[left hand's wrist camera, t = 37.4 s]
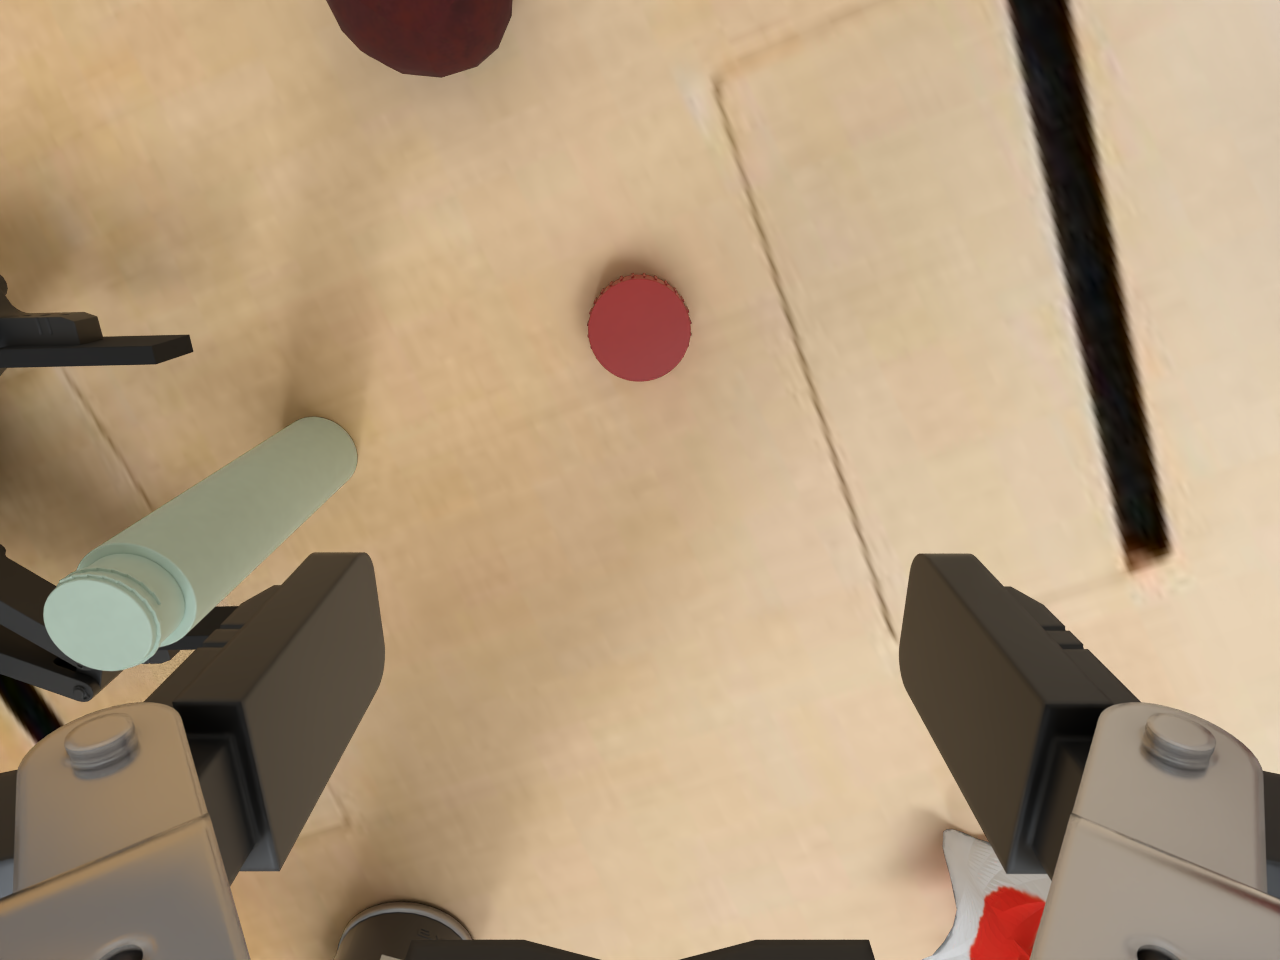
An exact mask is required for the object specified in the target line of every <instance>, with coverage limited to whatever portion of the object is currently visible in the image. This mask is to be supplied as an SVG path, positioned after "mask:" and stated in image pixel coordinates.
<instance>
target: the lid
mask: <svg viewBox="0 0 1280 960" xmlns="http://www.w3.org/2000/svg"><path fill="white" fill-rule="evenodd" d="M683 302H684V300H683V297H682V296H681V297H680V296H679V294H678V293H677V291H676V288H675V287H674V288H672V287H671V286H670V285H669V284H668V283H667V281H666V280H665V281H663V280H661V279H659V278H657V276H655V275H654V277H653V276H650V275H645V273H643V275H634V273H632V275H630V276H626V277H623V276H621V277H620V279H618V280H616V281H614V282H613V281H611V282H610V285H609V286H608V287H606V289H604V288H603V289H602V291H601V294H600V296H599V297H598V298H597V297H596V299H595V301H594V304H595V305H594V307H593V308H591V310H590V313H589V314H590V319H589V321H588V323H587V326H588V338H589V341H590V345H591V349H592V350H593V353H594V355H595V356H596V358H597V360H598V361H599V362H600V363H601V365H602V366H603V367H604V368H605V369H607V370H608V371H609V372H611V373H612V374H614V375H616V376H617V377H620V378H622V379H626V380H629V381H649V380H653V379H657V378H659V377H661V376H663V375H665V374H667V373H668V372H670V371H671V370H672V369H673V368H674V367H675V366H677V364H678V363H679V362H680V361H681V359H682V358H683V357H684V354H685V352H686V350H687V348H688V347H689V340H690V336H691V327H690V324H691V320H690V318H689V315H688V313H689V310H688V308H687V306H686V307H685V305H684V303H683Z"/></svg>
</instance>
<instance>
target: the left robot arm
mask: <svg viewBox="0 0 1280 960" xmlns="http://www.w3.org/2000/svg"><path fill="white" fill-rule="evenodd" d="M384 661H385V645H384V637H383V630H382V623H381V616H380V608H379V601H378V594H377V587H376V580H375V573H374V567H373V563H372V560H371V558H370V557H369V555H368V554H367V553H312V554H310V555H309V556H308V557H307V558H306V559H305V560H304V561H303V563H302V564H301V565H300V566H299V567H298V568H297V569H296V570H295V571H294V572H293V573H292V574H291V575H290V576H289V578H288V579H287V580H286V581H285V582H284V583H283V584H282V585H274V586H272V587H270V588H268V589H267V590H265V591H263V592H261V593H259V594H258V595H256V596H254V597H252V598H250V599H249V600H247V601H245V602H243V603H242V604H241V605H240V606H239V607H238V608H237V609H236V610H235V611H234V612H233V613H232V614H231V615H230V616H229V617H228V618H227V619H226V620H225V621H224V622H223V623H222V624H221V625H220V629H216V630H215V631H214V632H213V633H212V634H211V635H210V636H209V637H208V638H207V639H206V640H205V641H204V642H203V645H202V648H197V649H196V650H195V651H194V652H193V653H192V654H191V655H190V656H189V657H188V658H187V659H186V660H185V661H184V662H183V663H182V664H181V665H180V666H179V667H178V668H177V669H176V670H175V671H174V672H173V673H172V674H171V675H170V676H169V677H168V678H167V679H166V680H165V681H164V682H163V683H162V684H161V685H160V686H159V687H158V688H157V689H156V690H155V691H154V692H153V693H152V694H151V695H150V696H149V697H148V698H147V699H146V700H145V701H144V702H138V703H129V704H123V705H118V706H113V707H109V708H106V709H102V710H99V711H96V712H93V713H90V714H88V715H85V716H83V717H80V718H78V719H76V720H74V721H71V722H70V723H68V724H66V725H64V726H62V727H60V728H58V729H57V730H55V731H54V732H52V733H51V734H49V735H47V736H46V737H45V738H44V739H42V740H41V741H40V742H38V743H37V744H36V745H35V746H34V747H33V748H32V749H31V750H30V751H29V752H28V753H27V754H26V756H25V757H24V758H23V759H22V761H21V763H20V765H19V767H18V770H14V771H9V772H4V773H0V960H250V956H249V953H248V949H247V946H246V942H245V939H244V935H243V931H242V928H241V924H240V921H239V917H238V914H237V910H236V907H235V903H234V900H233V896H232V892H231V889H230V886H231V884H232V882H233V881H234V879H235V877H236V876H237V874H238V872H239V871H280V869H281V868H282V866H283V864H284V862H285V860H286V858H287V856H288V855H289V853H290V851H291V849H292V847H293V845H294V843H295V842H296V840H297V838H298V836H299V834H300V832H301V830H302V829H303V827H304V825H305V823H306V821H307V819H308V817H309V816H310V814H311V812H312V810H313V808H314V806H315V804H316V803H317V801H318V799H319V797H320V795H321V793H322V791H323V790H324V788H325V786H326V784H327V782H328V780H329V778H330V777H331V775H332V773H333V771H334V769H335V767H336V765H337V764H338V762H339V760H340V758H341V756H342V754H343V752H344V751H345V749H346V747H347V745H348V743H349V741H350V739H351V738H352V736H353V734H354V732H355V730H356V728H357V727H358V725H359V723H360V721H361V719H362V717H363V715H364V714H365V712H366V710H367V708H368V706H369V704H370V702H371V701H372V699H373V697H374V695H375V693H376V691H377V689H378V687H379V685H380V682H381V679H382V675H383V670H384ZM899 664H900V672H901V676H902V680H903V684H904V686H905V689H906V691H907V693H908V694H909V696H910V698H911V700H912V702H913V704H914V705H915V707H916V709H917V711H918V713H919V715H920V716H921V718H922V720H923V722H924V724H925V726H926V727H927V729H928V731H929V733H930V735H931V737H932V738H933V740H934V742H935V744H936V746H937V748H938V749H939V751H940V753H941V755H942V757H943V759H944V760H945V762H946V764H947V766H948V768H949V770H950V771H951V773H952V775H953V777H954V779H955V781H956V782H957V784H958V786H959V788H960V790H961V792H962V793H963V795H964V797H965V799H966V801H967V803H968V804H969V806H970V808H971V810H972V812H973V814H974V815H975V817H976V819H977V821H978V823H979V825H980V826H981V828H982V830H983V832H984V834H985V836H986V837H987V839H988V841H989V843H990V845H991V847H992V848H993V850H994V852H995V854H996V856H997V858H998V859H999V861H1000V863H1001V865H1002V867H1003V869H1004V870H1005V872H1006V874H1047V875H1048V876H1049V878H1050V879H1051V881H1052V882H1051V885H1050V889H1049V892H1048V896H1047V900H1046V903H1045V907H1044V910H1043V914H1042V917H1041V921H1040V924H1039V928H1038V931H1037V935H1036V939H1035V942H1034V946H1033V949H1032V953H1031V956H1030V960H1280V774H1275V773H1271V772H1266V771H1262V767H1261V765H1260V763H1259V761H1258V759H1257V758H1256V757H1255V756H1254V754H1253V753H1252V752H1251V751H1250V750H1249V749H1248V748H1247V747H1246V746H1245V745H1244V744H1243V743H1242V742H1240V741H1239V740H1238V739H1236V738H1235V737H1234V736H1233V735H1231V734H1229V733H1228V732H1226V731H1225V730H1223V729H1222V728H1220V727H1218V726H1216V725H1214V724H1212V723H1210V722H1209V721H1206V720H1204V719H1202V718H1200V717H1197V716H1195V715H1192V714H1190V713H1187V712H1184V711H1181V710H1178V709H1174V708H1171V707H1167V706H1162V705H1157V704H1151V703H1142V702H1140V701H1139V700H1138V699H1137V698H1136V697H1135V696H1134V695H1133V694H1132V693H1131V692H1130V691H1129V690H1128V689H1127V688H1126V687H1125V686H1124V685H1123V684H1122V683H1121V682H1120V681H1119V680H1118V679H1117V678H1116V677H1115V676H1114V675H1113V674H1112V673H1111V672H1110V671H1109V670H1108V669H1107V668H1106V667H1105V666H1104V665H1103V664H1102V663H1101V662H1100V661H1099V660H1098V659H1097V658H1096V657H1095V656H1094V655H1093V654H1092V653H1091V652H1090V651H1089V650H1088V649H1084V648H1083V644H1082V643H1081V642H1080V641H1079V640H1078V639H1077V638H1076V637H1075V636H1074V635H1073V634H1072V633H1071V632H1070V631H1065V626H1064V625H1063V624H1062V623H1061V622H1060V621H1059V620H1058V619H1057V618H1056V617H1055V616H1054V615H1053V614H1052V613H1051V612H1050V611H1049V610H1048V609H1047V608H1046V607H1045V606H1044V605H1043V604H1041V603H1039V602H1037V601H1036V600H1034V599H1032V598H1030V597H1028V596H1027V595H1025V594H1023V593H1021V592H1019V591H1018V590H1016V589H1014V588H1012V587H1004V586H1003V585H1002V584H1001V583H1000V582H999V581H998V580H997V579H996V578H995V577H994V576H993V575H992V574H991V573H990V572H989V570H988V569H987V568H986V567H985V566H984V565H983V564H982V563H981V562H980V561H979V560H978V559H977V558H976V557H975V556H974V555H972V554H918V555H917V556H915V558H914V560H913V562H912V565H911V569H910V575H909V582H908V589H907V596H906V603H905V610H904V617H903V624H902V631H901V638H900V646H899ZM333 960H600V959H596V958H592V957H588V956H584V955H580V954H576V953H573V952H569V951H565V950H561V949H557V948H553V947H549V946H546V945H542V944H538V943H534V942H530V941H526V940H472V938H471V936H470V935H469V933H468V932H467V930H466V929H465V928H464V927H463V926H462V925H461V924H460V923H459V922H458V921H457V920H455V919H454V918H453V917H451V916H450V915H448V914H446V913H444V912H442V911H440V910H438V909H435V908H433V907H430V906H426V905H422V904H418V903H410V902H392V903H385V904H380V905H377V906H373V907H371V908H368V909H366V910H364V911H362V912H361V913H359V914H358V915H357V916H355V917H354V918H353V919H352V920H351V921H350V922H349V923H348V925H347V926H346V928H345V930H344V932H343V934H342V937H341V939H340V942H339V945H338V950H337V954H336V956H335V957H334V958H333ZM680 960H875V958H874V955H873V952H872V948H871V945H870V942H869V940H754V941H750V942H746V943H742V944H738V945H734V946H731V947H727V948H723V949H719V950H715V951H711V952H707V953H704V954H700V955H696V956H692V957H688V958H684V959H680Z"/></svg>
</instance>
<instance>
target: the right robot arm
mask: <svg viewBox="0 0 1280 960" xmlns="http://www.w3.org/2000/svg"><path fill="white" fill-rule="evenodd" d="M7 289H8V288H7V283H6V281H5V280H4V278H3V277H2V276H1V275H0V376H1V374H2V373H3V372H4V371H5V370H6V368H15V367H59V366H102V365H145V364H158V363H161V362H164V361H167V360H170V359H173V358H176V357H179V356H182V355H185V354H188V353H191V352H193V348H192V344H191V340H190V336H189V335H158V336H116V337H103V336H102V332H101V328H100V325H99V321H98V317H97V316H94V315H91V314H88V313H85V312H72V313H70V312H69V313H24V312H21V311H19V310H18V309H16V308H15V307H14V306H13V305H12V304H11V303H10V302H9V300H8V299H7V297H6V296H5V295H6V293H7ZM5 553H6V549H5V547H3V546H2V545H1V544H0V674H2V675H5V676H8V677H11V678H14V679H17V680H20V681H23V682H25V683H28V684H31V685H34V686H37V687H40V688H43V689H45V690H48V691H51V692H54V693H57V694H60V695H63V696H66V697H68V698H71V699H74V700H77V701H81V702H87V701H89V700H91V699H92V698H93V697H94V696H95V695H97V694H98V693H99V692H100V691H101V690H102V689H103V688H104V687H105V686H106V685H108V684H109V683H110V682H111V681H112V680H113V679H114V678H115V677H116V676H118V675H119V674H120V673H121V672H122V671H123V670H119V671H103V670H97V669H93V668H89V667H87V666H84V665H82V664H80V663H78V662H76V661H74V660H73V659H71V658H70V657H68V656H67V655H66V654H64V653H63V652H62V651H61V650H60V649H59V648H58V647H57V646H56V645H55V643H54V642H53V641H52V639H51V638H50V636H49V634H48V632H47V630H46V627H45V623H44V617H43V611H44V606H45V602H46V600H47V598H48V596H49V595H50V593H51V592H52V591H53V590H54V589H55V588H56V587H57V586H55V585H53V584H51V583H50V582H48V581H46V580H45V579H43V578H41V577H39V576H38V575H36V574H34V573H33V572H31V571H29V570H28V569H26V568H24V567H22V566H21V565H19V564H17V563H16V562H14V561H12V560H10V559H9V558H7V557H6V555H5ZM238 607H239V606H224V607H214V608H213V609H212V610H211V611H210V612H209V613H208V614H207V615H206V616H205V617H204V618H203V619H202V620H201V621H200V622H199V623H198V624H196V625H195V626H194V627H193V628H192V629H191V630H190V631H189V632H188V633H187V634H186V635H185V636H184V637H183V638H181V639H180V640H178V641H177V642H174V643H172V644H170V645H166V646H163V647H159V648H158V650H157V651H156V653H155V654H154V655H153V656H152V657H150V658H149V659H148V660H147V661H145V662H144V663H142V664H149V663H150V664H158V663H164V662H166V661H169V660H171V659H172V658H173V657H174V656H175V655H176V654H177V653H178V652H179V651H180V650H195V649H197V648H202V645H203V642H204V641H205V640H206V639H207V638H208V637H209V636H210V635H211V634H212V633H213V632H214V631H215V630H216V629H220V625H221V624H222V623H223V622H224V621H225V620H226V619H227V618H228V617H229V616H230V615H231V614H232V613H233V612H234V611H235V610H236V609H237V608H238Z"/></svg>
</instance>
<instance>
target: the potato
mask: <svg viewBox="0 0 1280 960" xmlns="http://www.w3.org/2000/svg"><path fill="white" fill-rule="evenodd" d="M326 1H327V3H328V5H329V7H330V8H331V10H332V12H333V14H334V16H335V18H336V20H337V22H338V24H339V26H340V28H341V30H342V31H343V32H344V33H345V34H346V35H347V36H348V38H349V39H350V40H351V41H352V42H353V43H354V44H355V45H356V46H357V47H358V48H359V49H360V50H361V51H362V52H364V53H365V54H367V55H368V56H370V57H372V58H374V59H376V60H378V61H380V62H381V63H383V64H385V65H386V66H388V67H390V68H392V69H394V70H396V71H398V72H400V73H402V74H411V75H421V76H432V77H445V76H448V75H451V74H454V73H458V72H461V71H464V70H467V69H470V68H474V67H477V66H478V65H479V64H480V63H482V62H483V61H484V60H485V59H486V58H487V57H488V56H489V55H491V54H492V53H493V52H494V51H495V50H496V49H497V48H498V47H499V44H500V42H501V40H502V37H503V35H504V32H505V30H506V28H507V25H508V23H509V21H510V18H511V16H512V0H326Z"/></svg>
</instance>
